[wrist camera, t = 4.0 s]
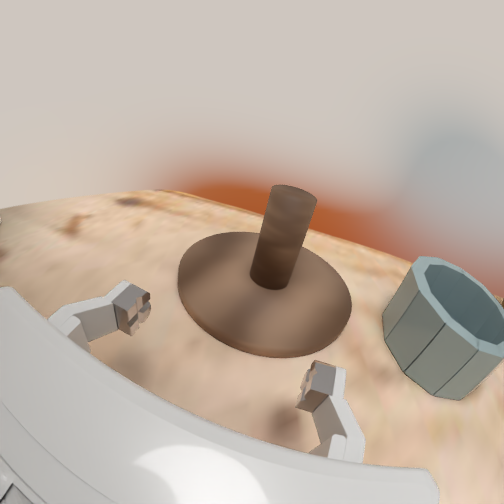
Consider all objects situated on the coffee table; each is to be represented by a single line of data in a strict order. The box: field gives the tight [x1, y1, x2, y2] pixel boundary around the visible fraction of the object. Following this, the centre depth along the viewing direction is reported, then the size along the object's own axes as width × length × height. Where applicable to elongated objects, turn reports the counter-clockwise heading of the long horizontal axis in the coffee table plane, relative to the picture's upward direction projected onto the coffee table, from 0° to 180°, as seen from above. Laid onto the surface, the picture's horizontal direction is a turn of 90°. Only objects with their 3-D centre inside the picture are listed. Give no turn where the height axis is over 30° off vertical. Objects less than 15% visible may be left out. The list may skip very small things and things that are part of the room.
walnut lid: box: [178, 185, 352, 358], centre depth 23 cm, size 16×16×9 cm
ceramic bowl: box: [382, 256, 504, 400], centre depth 21 cm, size 14×14×6 cm
